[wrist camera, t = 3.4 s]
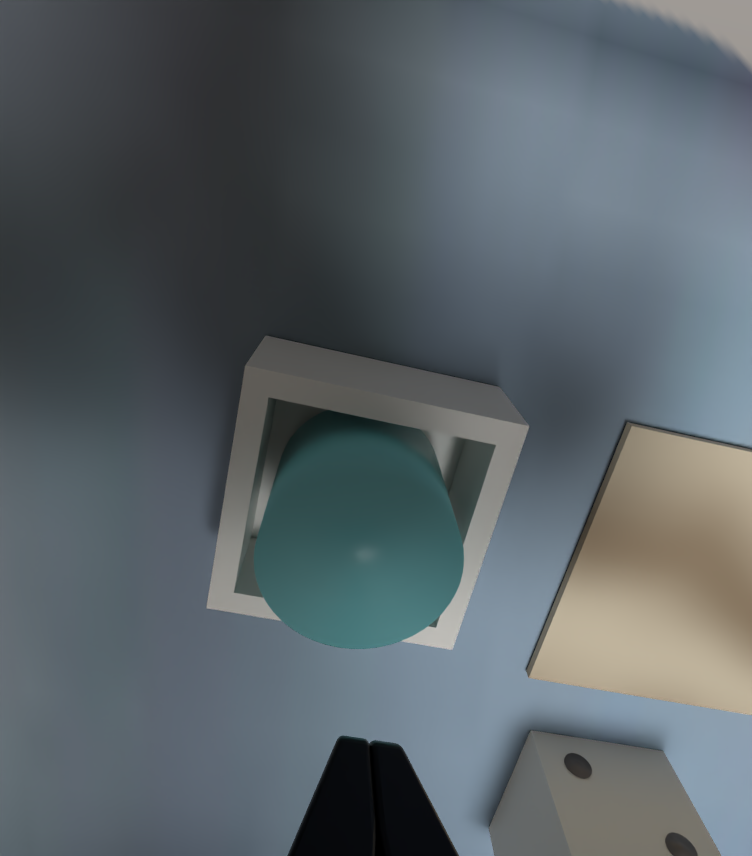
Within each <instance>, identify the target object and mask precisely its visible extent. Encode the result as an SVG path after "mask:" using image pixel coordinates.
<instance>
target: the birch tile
mask: <svg viewBox="0 0 752 856" xmlns="http://www.w3.org/2000/svg"><path fill="white" fill-rule="evenodd" d="M526 672H527V674H528V677H529V678H532V679H538V680H544V681H550V682H556V683H562V684H568V685H574V686H580V687H586V688H592V689H598V690H604V691H610V692H616V693H622V694H628V695H634V696H640V697H646V698H652V699H658V700H664V701H670V702H676V703H682V704H688V705H694V706H700V707H706V708H712V709H718V710H724V711H730V712H736V713H742V714H748V715H752V449H747V448H743V447H738V446H733V445H729V444H724V443H720V442H715V441H711V440H706V439H701V438H697V437H692V436H688V435H683V434H679V433H674V432H669V431H665V430H660V429H656V428H651V427H647V426H642V425H638V424H633V423H628V422H627V424H626V426H625V429H624V431H623V434H622V436H621V439H620V441H619V444H618V446H617V449H616V451H615V454H614V456H613V459H612V461H611V463H610V466H609V468H608V471H607V473H606V476H605V478H604V481H603V483H602V486H601V488H600V491H599V493H598V496H597V498H596V500H595V503H594V505H593V508H592V510H591V513H590V515H589V518H588V520H587V523H586V525H585V528H584V530H583V532H582V535H581V537H580V540H579V542H578V545H577V547H576V550H575V552H574V555H573V557H572V560H571V562H570V565H569V567H568V569H567V572H566V574H565V577H564V579H563V582H562V584H561V587H560V589H559V592H558V594H557V597H556V599H555V602H554V604H553V606H552V609H551V611H550V614H549V616H548V619H547V621H546V624H545V626H544V629H543V631H542V634H541V636H540V639H539V641H538V643H537V646H536V648H535V651H534V653H533V656H532V658H531V661H530V663H529V666H528V668H527V671H526Z"/></svg>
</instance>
